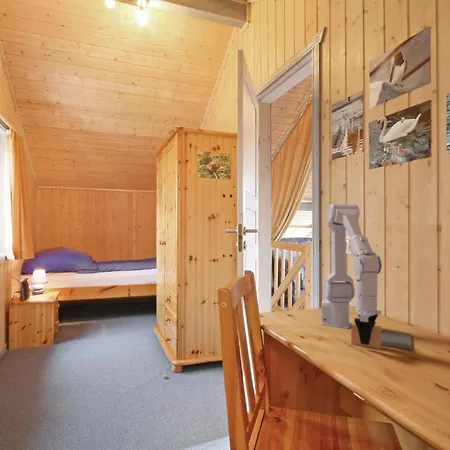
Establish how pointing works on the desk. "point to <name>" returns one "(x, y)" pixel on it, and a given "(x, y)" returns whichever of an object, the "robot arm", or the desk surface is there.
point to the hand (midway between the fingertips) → (366, 340)
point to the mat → (396, 340)
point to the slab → (374, 340)
